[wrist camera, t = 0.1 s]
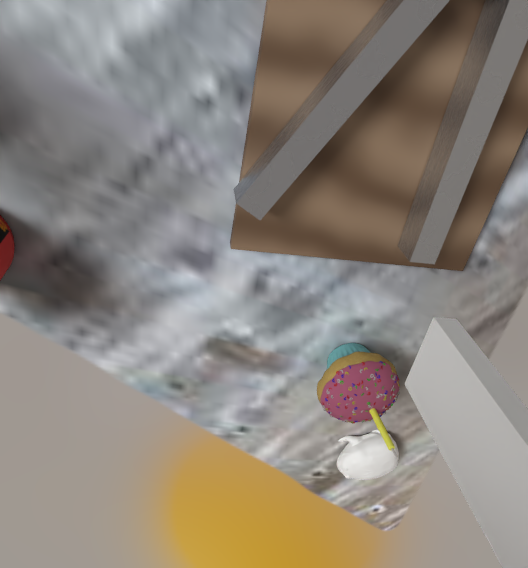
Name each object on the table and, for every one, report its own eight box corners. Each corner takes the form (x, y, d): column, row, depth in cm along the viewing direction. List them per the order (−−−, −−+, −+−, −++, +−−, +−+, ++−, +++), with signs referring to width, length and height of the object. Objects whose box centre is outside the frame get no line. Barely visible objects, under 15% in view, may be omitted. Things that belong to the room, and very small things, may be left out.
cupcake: (399, 353, 53) (447, 439, 43) (344, 397, 55) (378, 489, 45) (348, 316, 49) (388, 401, 39) (293, 366, 52) (316, 457, 42)
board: (299, -216, 27) (303, -223, 26) (626, -118, 32) (640, -121, 31) (230, 242, 43) (231, 248, 42) (457, 264, 47) (462, 270, 46)
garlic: (337, 469, 63) (344, 494, 60) (329, 438, 59) (337, 463, 56) (395, 454, 63) (405, 479, 60) (390, 421, 59) (401, 446, 56)
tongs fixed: (448, -110, 30) (473, -120, 27) (548, -83, 31) (581, -90, 29) (346, 240, 43) (356, 257, 40) (420, 247, 44) (435, 264, 41)
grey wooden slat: (415, -36, 32) (434, -38, 29) (437, -9, 33) (457, -8, 30) (233, 189, 39) (236, 203, 36) (256, 205, 40) (260, 220, 37)
